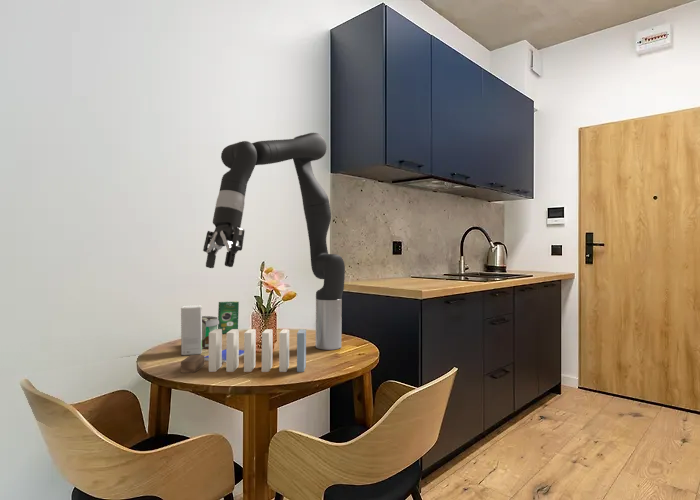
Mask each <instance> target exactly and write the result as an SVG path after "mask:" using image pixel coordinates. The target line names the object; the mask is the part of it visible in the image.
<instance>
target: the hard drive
mask: <svg viewBox="0 0 700 500" xmlns="http://www.w3.org/2000/svg"><path fill="white" fill-rule="evenodd" d="M242 356H244V349H239V357H242ZM204 361H206V362H207V361H208V362H209V354H207V355H206V356H205V355H204ZM222 363H226V348H225V349H222Z"/></svg>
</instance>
